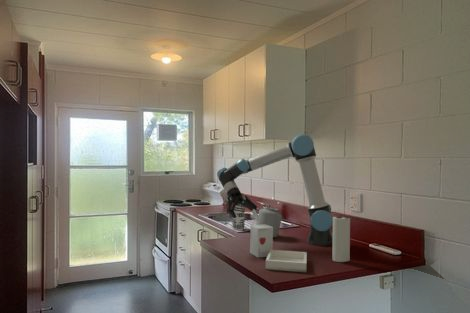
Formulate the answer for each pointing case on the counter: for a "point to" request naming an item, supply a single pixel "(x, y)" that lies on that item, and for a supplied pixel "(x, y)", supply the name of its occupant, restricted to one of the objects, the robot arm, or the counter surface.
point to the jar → (270, 219)
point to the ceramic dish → (286, 260)
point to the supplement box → (261, 240)
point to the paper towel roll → (341, 239)
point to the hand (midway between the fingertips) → (248, 221)
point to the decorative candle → (240, 213)
